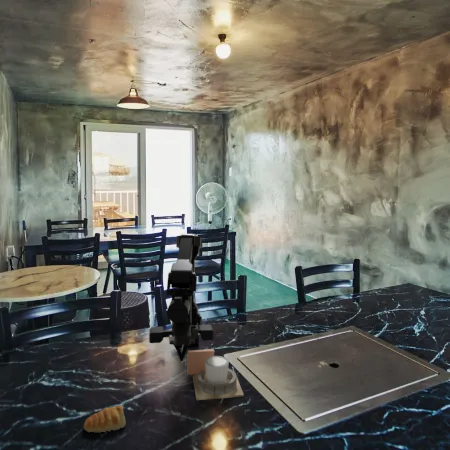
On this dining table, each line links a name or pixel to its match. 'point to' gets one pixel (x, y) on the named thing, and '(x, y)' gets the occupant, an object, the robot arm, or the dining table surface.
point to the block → (197, 360)
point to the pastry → (106, 420)
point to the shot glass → (216, 369)
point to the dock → (216, 387)
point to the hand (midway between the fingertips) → (181, 360)
